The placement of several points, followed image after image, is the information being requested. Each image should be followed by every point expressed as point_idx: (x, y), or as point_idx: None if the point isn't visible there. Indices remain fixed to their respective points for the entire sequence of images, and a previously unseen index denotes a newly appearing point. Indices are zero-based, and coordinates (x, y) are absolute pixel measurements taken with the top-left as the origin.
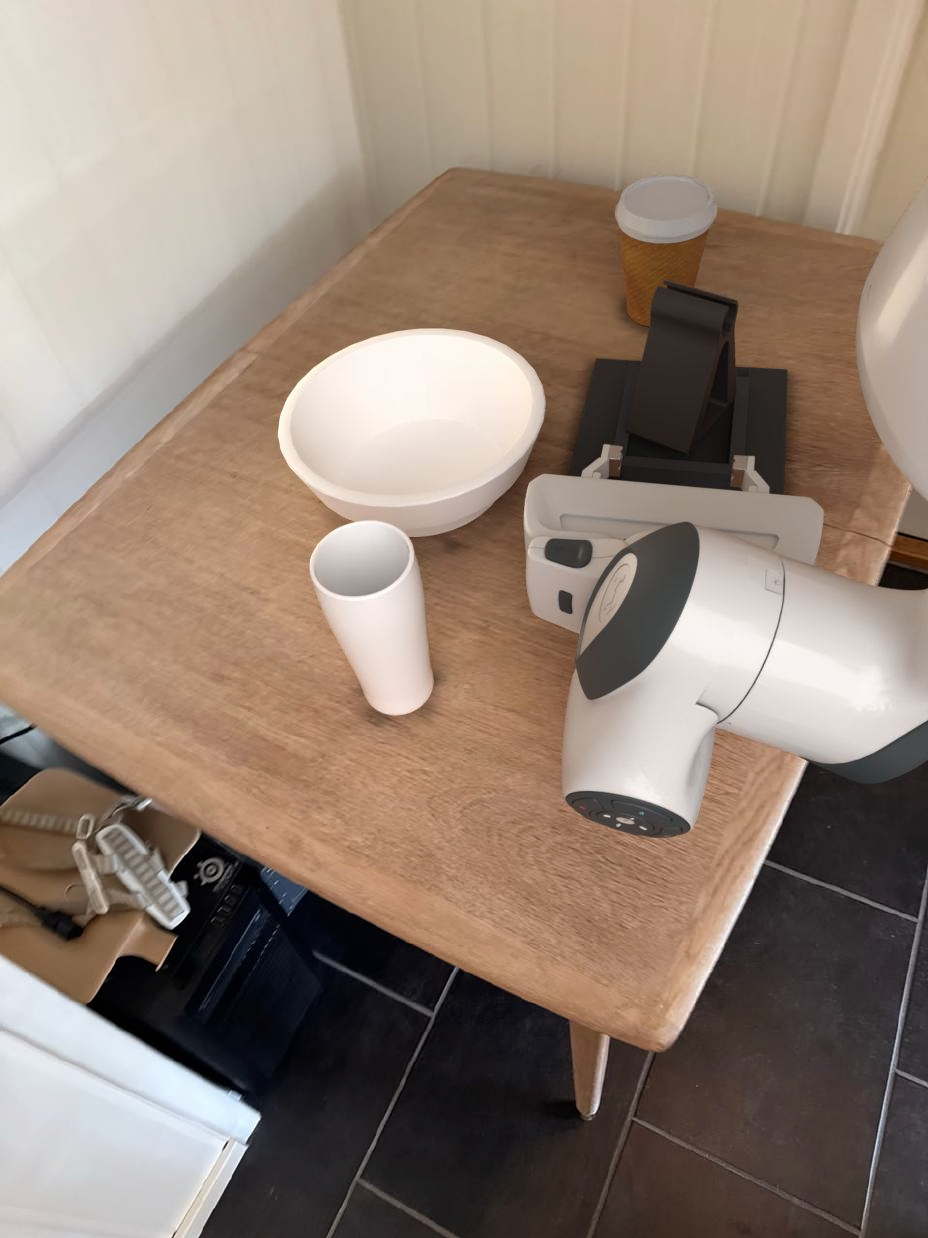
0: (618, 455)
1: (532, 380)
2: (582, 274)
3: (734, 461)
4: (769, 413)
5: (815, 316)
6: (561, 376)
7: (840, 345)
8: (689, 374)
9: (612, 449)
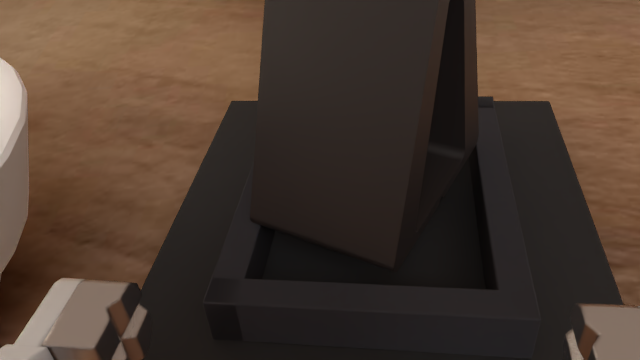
0: (91, 329)
1: (1, 109)
2: (236, 13)
3: (589, 336)
4: (543, 171)
5: (560, 40)
6: (174, 132)
7: (614, 70)
8: (374, 69)
9: (80, 301)
